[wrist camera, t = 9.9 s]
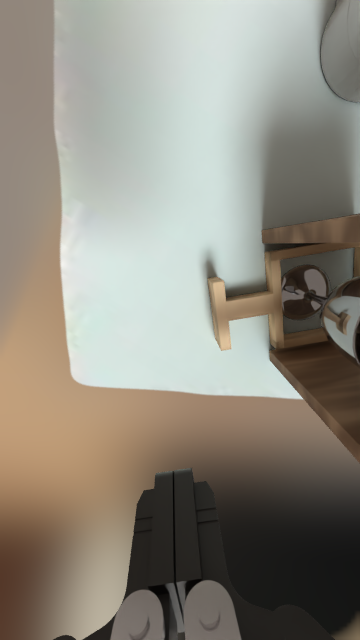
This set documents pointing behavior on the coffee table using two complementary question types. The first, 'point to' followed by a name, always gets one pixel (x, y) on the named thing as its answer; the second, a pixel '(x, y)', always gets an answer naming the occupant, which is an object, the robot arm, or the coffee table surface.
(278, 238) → the wooden arch frame
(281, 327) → the drawer
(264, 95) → the coffee table surface
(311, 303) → the wine glass
